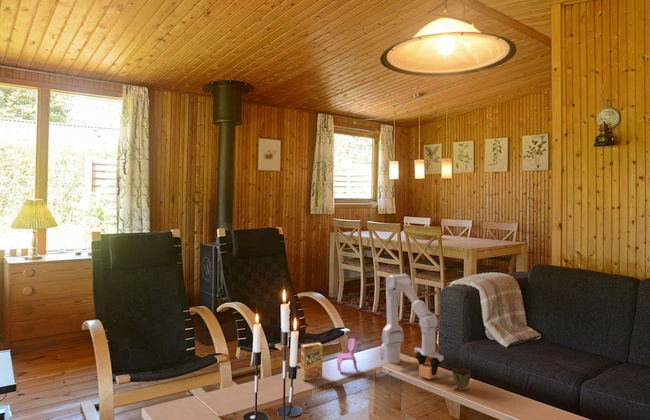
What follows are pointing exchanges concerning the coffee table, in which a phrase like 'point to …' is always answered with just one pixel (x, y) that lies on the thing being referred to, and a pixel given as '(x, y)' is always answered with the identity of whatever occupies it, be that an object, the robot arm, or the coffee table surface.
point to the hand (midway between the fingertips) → (428, 372)
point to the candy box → (311, 361)
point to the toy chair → (348, 355)
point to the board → (414, 372)
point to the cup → (461, 378)
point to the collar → (426, 371)
